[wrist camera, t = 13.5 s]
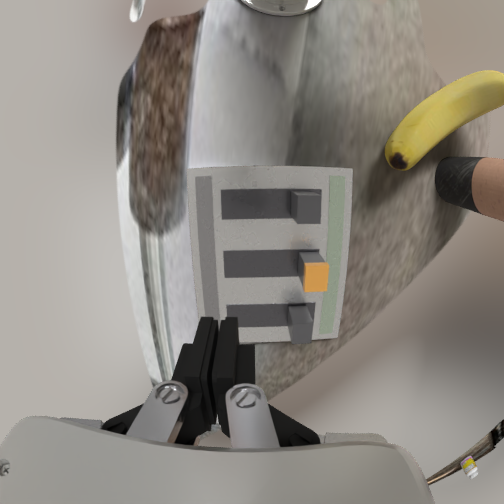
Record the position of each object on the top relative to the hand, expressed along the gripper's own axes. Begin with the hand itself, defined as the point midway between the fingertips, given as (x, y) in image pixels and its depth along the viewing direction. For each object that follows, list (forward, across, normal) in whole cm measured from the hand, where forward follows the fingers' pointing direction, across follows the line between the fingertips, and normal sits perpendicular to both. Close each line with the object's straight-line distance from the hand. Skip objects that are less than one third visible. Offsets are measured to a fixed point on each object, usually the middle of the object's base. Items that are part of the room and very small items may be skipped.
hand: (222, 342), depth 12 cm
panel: (+24, -4, +5) cm, 24 cm away
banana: (+24, -26, -15) cm, 39 cm away
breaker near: (+22, -7, -3) cm, 23 cm away
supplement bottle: (+22, -102, +110) cm, 151 cm away
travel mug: (+24, -32, -7) cm, 41 cm away
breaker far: (+22, -7, +12) cm, 26 cm away
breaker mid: (+22, -8, +5) cm, 24 cm away
